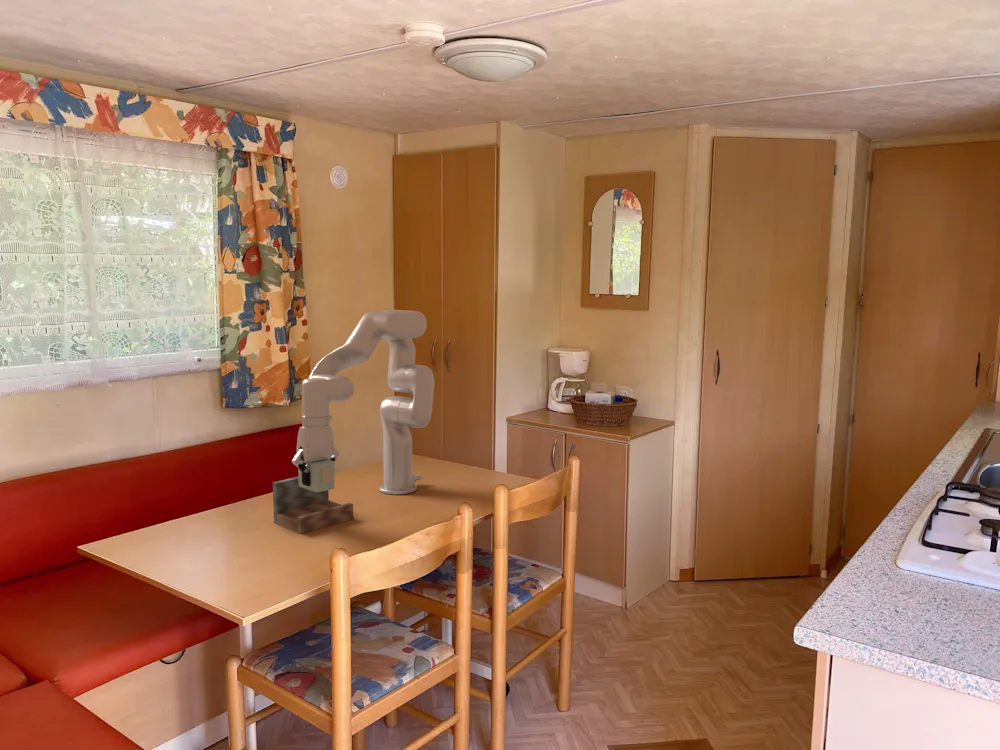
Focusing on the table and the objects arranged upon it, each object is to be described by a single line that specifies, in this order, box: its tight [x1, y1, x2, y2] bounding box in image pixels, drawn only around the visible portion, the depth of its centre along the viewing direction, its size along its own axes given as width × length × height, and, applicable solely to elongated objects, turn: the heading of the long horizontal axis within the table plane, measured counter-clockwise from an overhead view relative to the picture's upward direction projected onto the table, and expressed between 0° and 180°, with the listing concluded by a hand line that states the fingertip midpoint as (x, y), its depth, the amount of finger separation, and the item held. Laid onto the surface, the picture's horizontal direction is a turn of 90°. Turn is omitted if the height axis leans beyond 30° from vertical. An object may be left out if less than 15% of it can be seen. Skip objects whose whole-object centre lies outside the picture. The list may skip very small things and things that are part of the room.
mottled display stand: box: [272, 476, 354, 535], centre depth 226 cm, size 18×14×12 cm
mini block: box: [297, 459, 335, 492], centre depth 223 cm, size 6×9×8 cm, turn 48°
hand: (316, 482), depth 224 cm, fingers closed on mini block, 6 cm apart
